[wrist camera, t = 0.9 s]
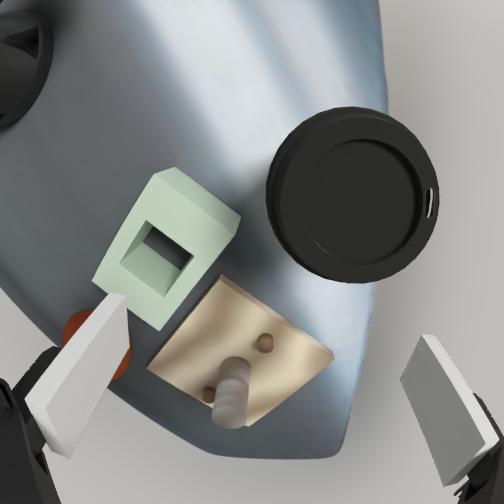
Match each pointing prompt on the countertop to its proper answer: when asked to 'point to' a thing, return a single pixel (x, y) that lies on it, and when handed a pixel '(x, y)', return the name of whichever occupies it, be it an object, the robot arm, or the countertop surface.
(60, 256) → the countertop surface
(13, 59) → the robot arm
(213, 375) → the post base
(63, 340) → the fruit
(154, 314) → the green block with window
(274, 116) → the countertop surface
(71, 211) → the countertop surface
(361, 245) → the coffee cup
